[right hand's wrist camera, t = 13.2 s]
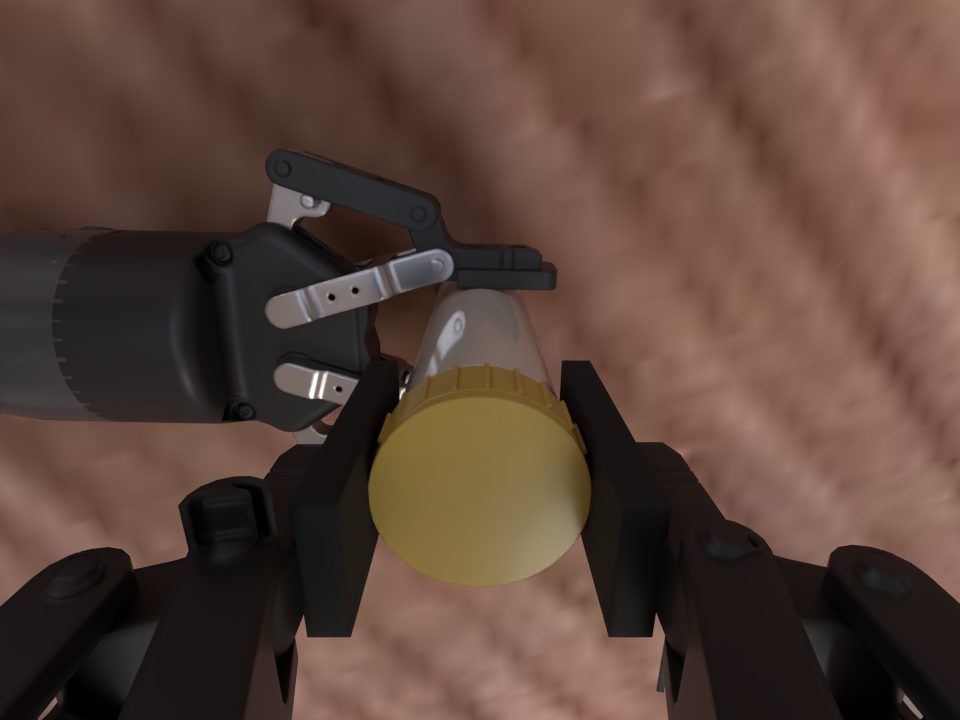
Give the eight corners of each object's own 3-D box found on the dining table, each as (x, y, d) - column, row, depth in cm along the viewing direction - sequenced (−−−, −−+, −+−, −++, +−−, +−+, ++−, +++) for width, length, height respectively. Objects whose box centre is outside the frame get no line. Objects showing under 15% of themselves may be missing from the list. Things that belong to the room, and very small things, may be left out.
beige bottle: (508, 246, 26) (553, 367, 10) (530, 325, 27) (598, 538, 12) (427, 270, 26) (349, 423, 11) (452, 347, 28) (417, 581, 12)
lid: (344, 402, 12) (323, 440, 10) (543, 330, 11) (554, 359, 9) (425, 559, 13) (418, 614, 12) (604, 503, 13) (623, 553, 11)
